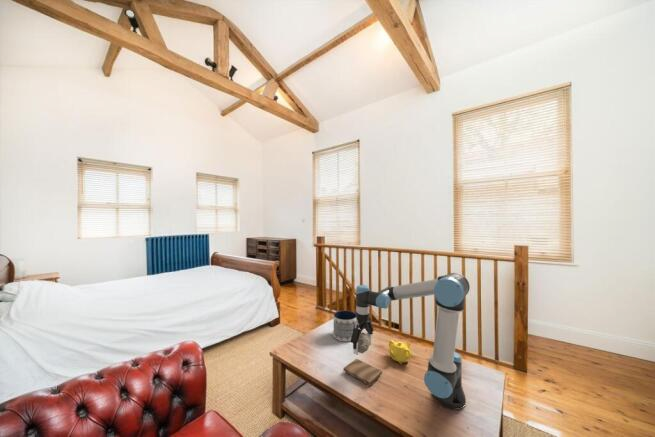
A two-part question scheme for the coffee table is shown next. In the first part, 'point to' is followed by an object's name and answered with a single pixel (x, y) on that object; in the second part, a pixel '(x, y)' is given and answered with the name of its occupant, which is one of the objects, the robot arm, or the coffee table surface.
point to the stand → (363, 371)
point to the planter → (344, 325)
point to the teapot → (399, 351)
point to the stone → (363, 343)
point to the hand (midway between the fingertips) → (362, 349)
